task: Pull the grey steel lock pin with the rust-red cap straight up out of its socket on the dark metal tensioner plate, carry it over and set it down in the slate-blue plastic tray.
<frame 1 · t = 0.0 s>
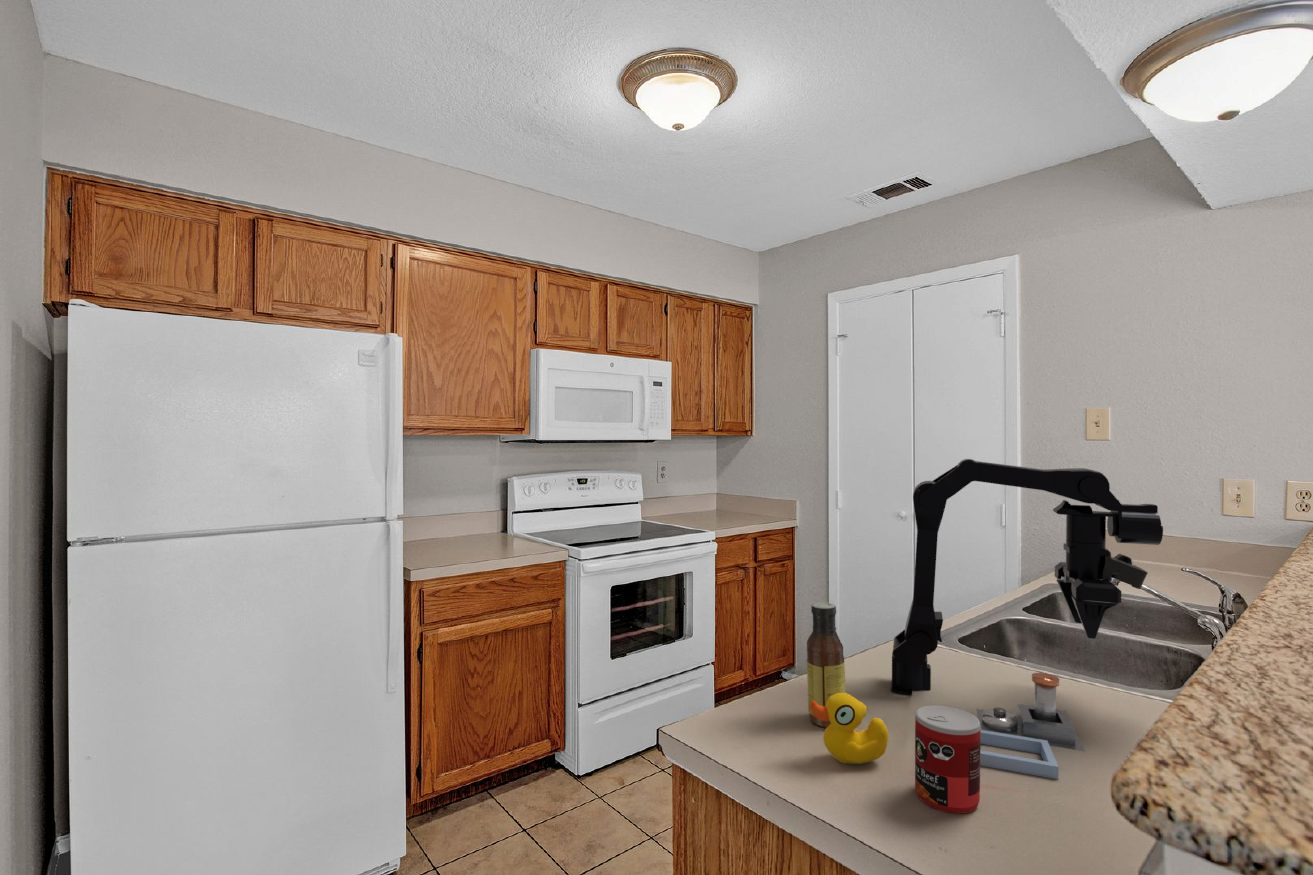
hand: (1084, 630, 111), 15 cm above the counter, tool pointing down, fingers open, 9 cm apart
sauce bottle: (826, 722, 109), on the counter
duckling: (849, 762, 96), on the counter
canned food: (946, 799, 86), on the counter
lock pin: (1044, 731, 103), point 1 cm above the counter, touching tensioner
tensioner: (1027, 733, 104), on the counter
tray: (1008, 762, 95), on the counter
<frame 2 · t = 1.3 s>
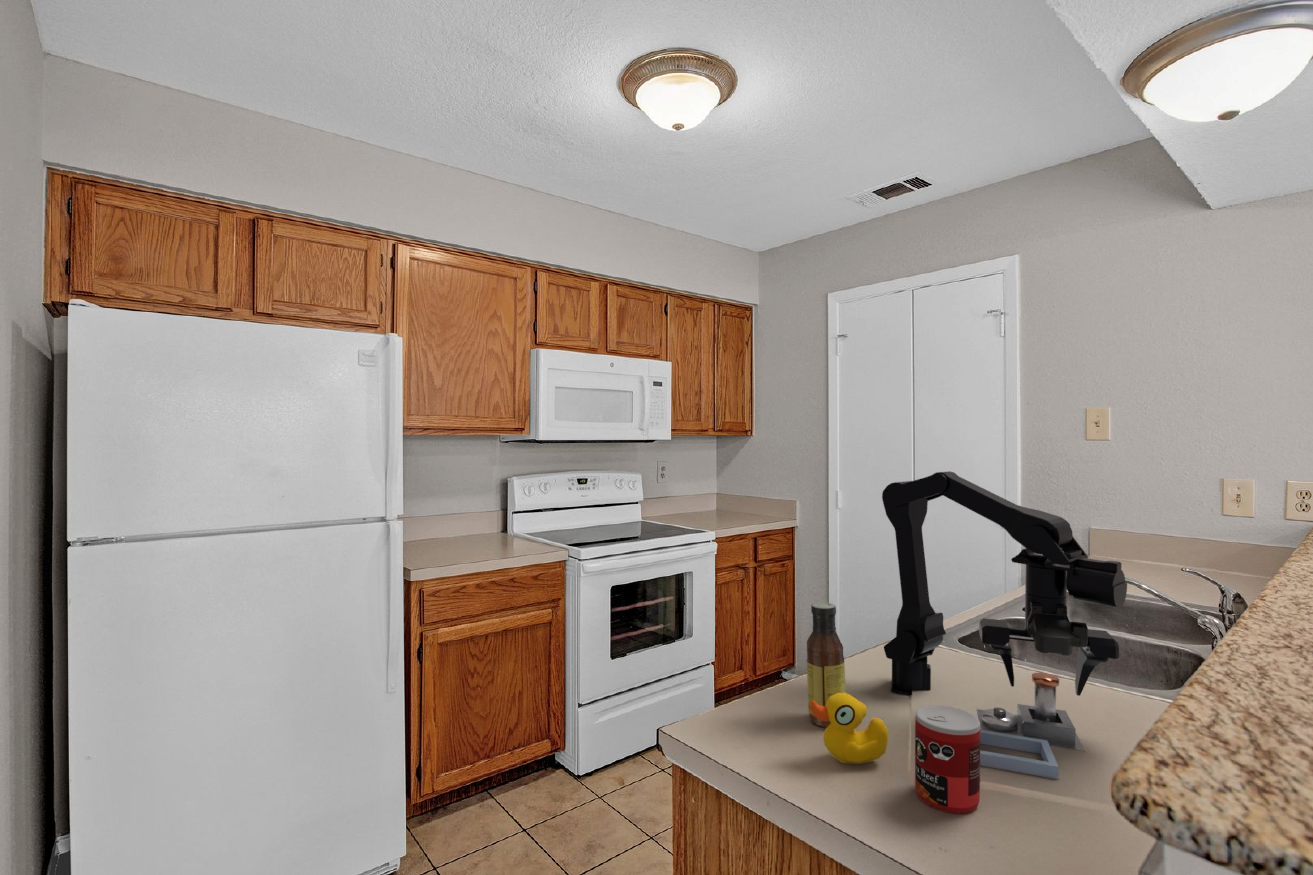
hand: (1044, 690, 103), 7 cm above the counter, tool pointing down, fingers open, 9 cm apart
nothing on the counter moved.
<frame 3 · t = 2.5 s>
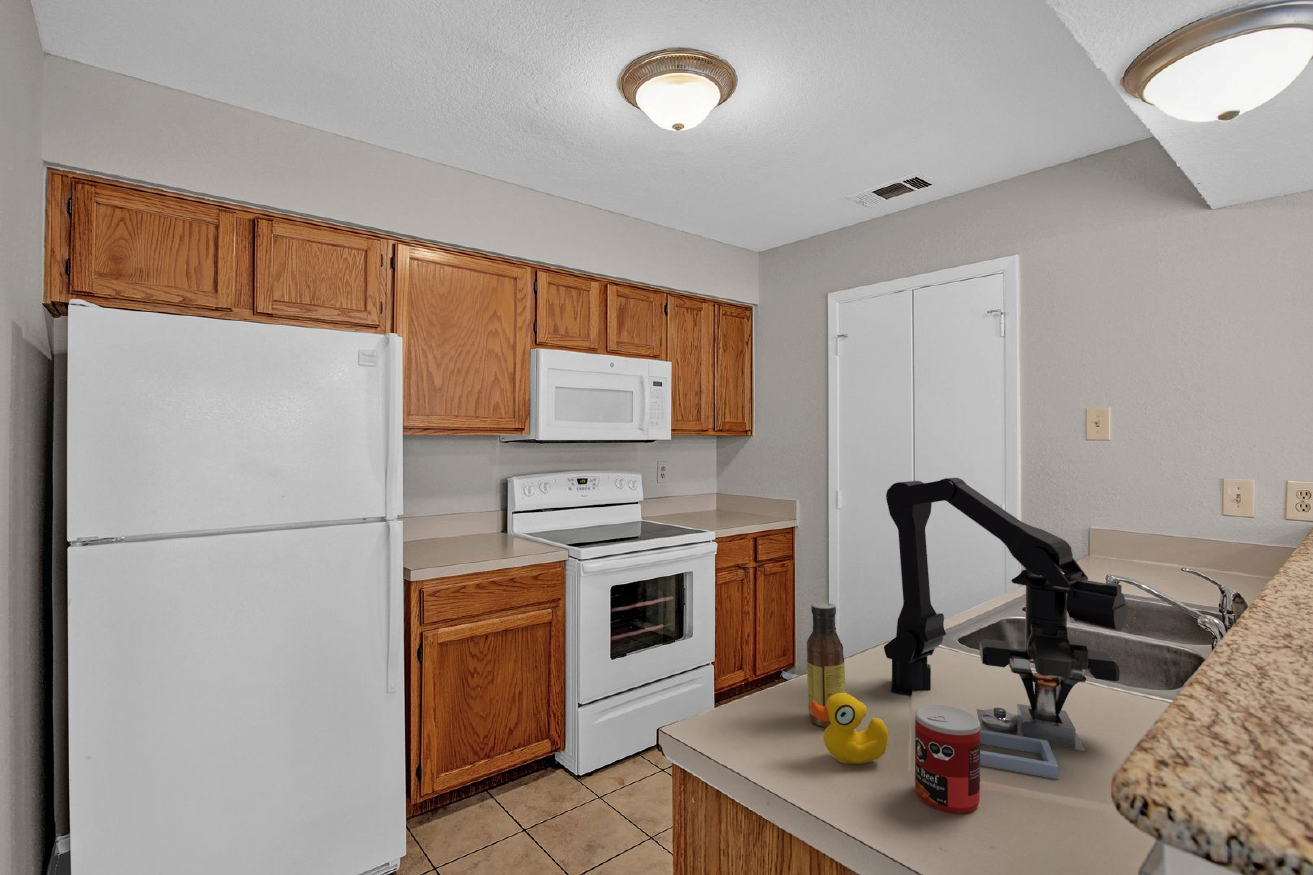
hand: (1045, 711, 103), 4 cm above the counter, tool pointing down, fingers closed on lock pin, 3 cm apart
lock pin: (1044, 731, 103), point 1 cm above the counter, touching gripper, tensioner
everything else where it was.
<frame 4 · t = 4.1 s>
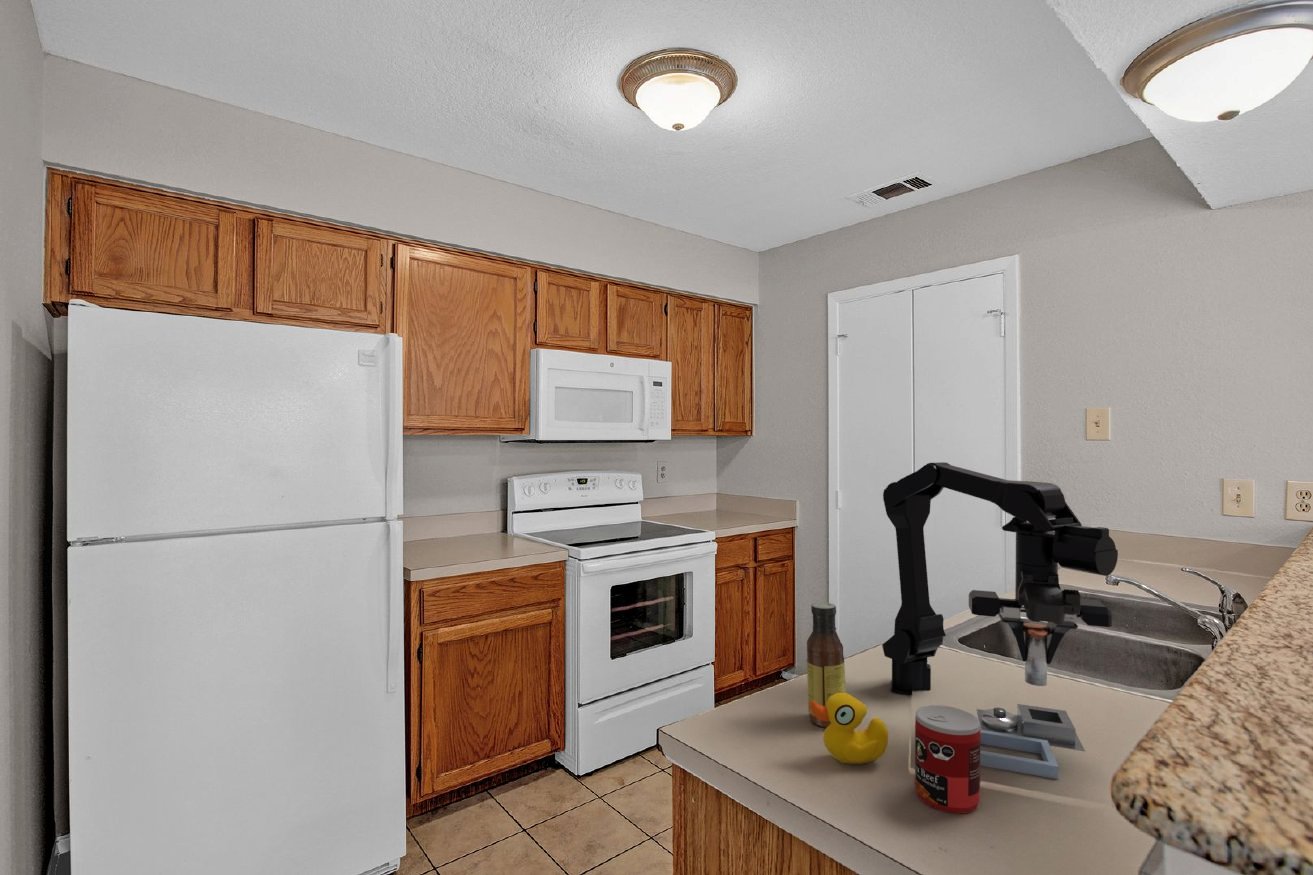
hand: (1035, 661, 100), 13 cm above the counter, tool pointing down, fingers closed on lock pin, 3 cm apart
lock pin: (1035, 682, 100), point 10 cm above the counter, touching gripper
everything else where it was.
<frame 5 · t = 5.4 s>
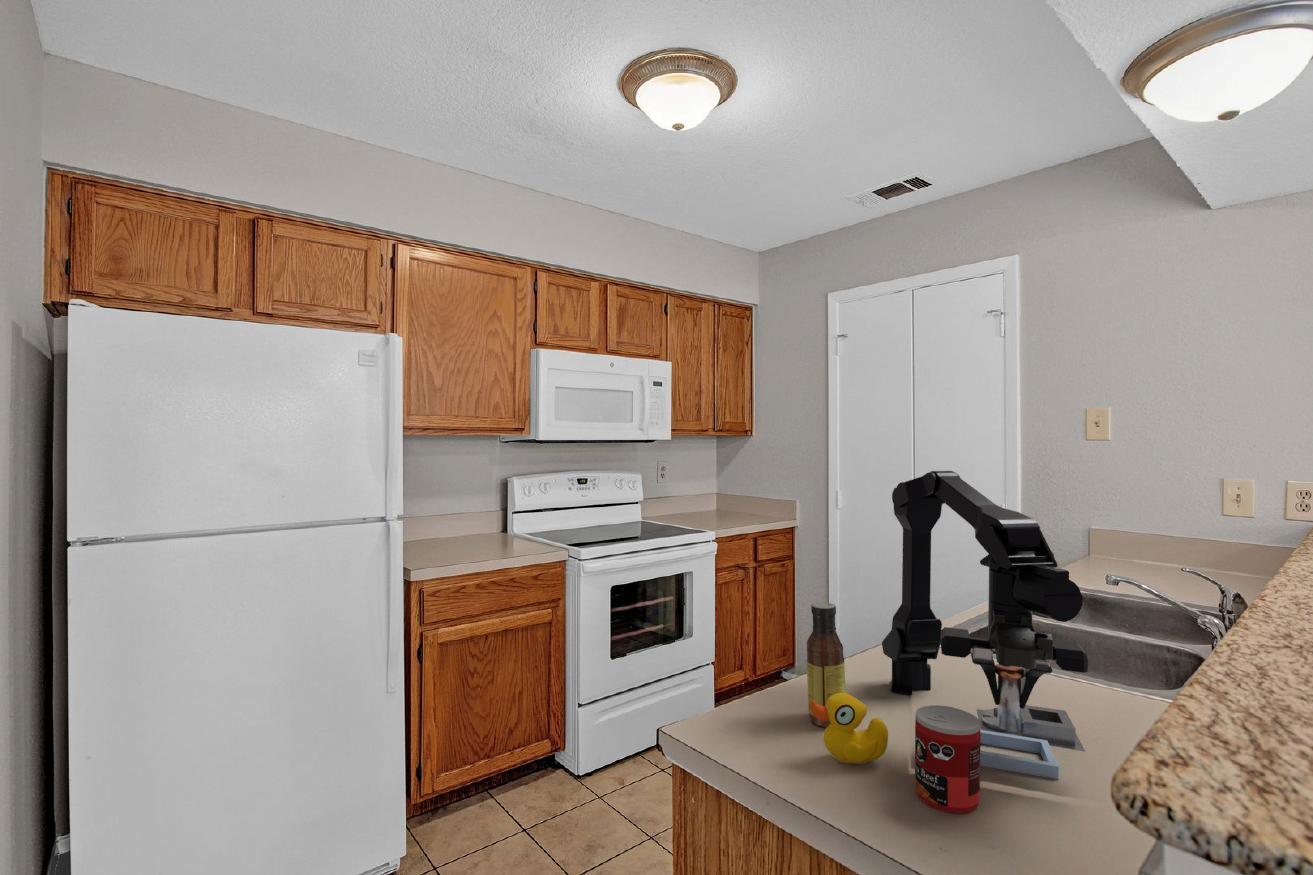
hand: (1009, 705, 95), 8 cm above the counter, tool pointing down, fingers closed on lock pin, 3 cm apart
lock pin: (1008, 727, 95), point 5 cm above the counter, touching gripper
everything else where it was.
when the fingers open (5 cm above the counter, at t = 6.2 s): lock pin drops 1 cm, resting on tray.
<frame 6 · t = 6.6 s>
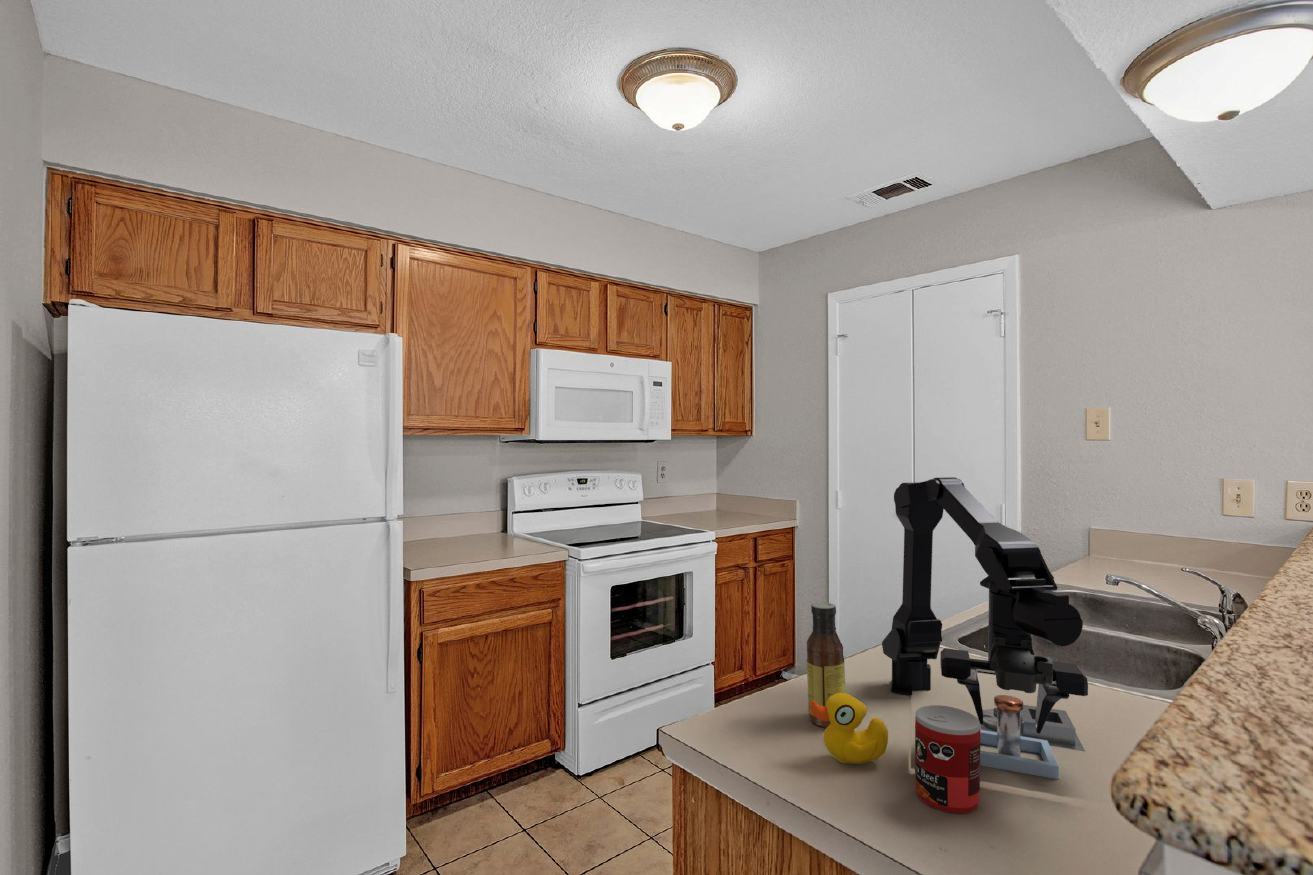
hand: (1009, 727, 95), 5 cm above the counter, tool pointing down, fingers open, 7 cm apart
lock pin: (1008, 758, 95), point 1 cm above the counter, touching tray
everything else where it was.
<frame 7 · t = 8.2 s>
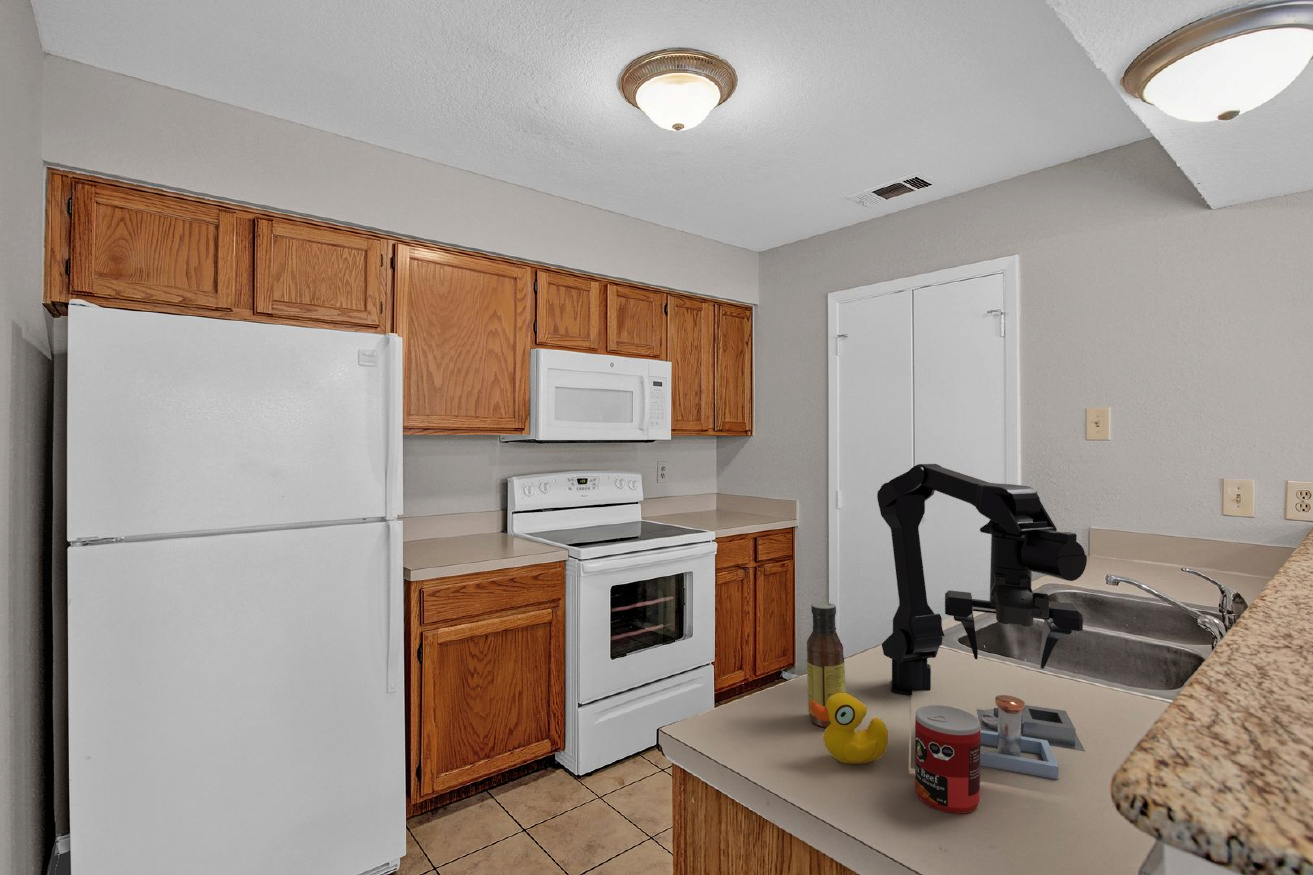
hand: (1008, 663, 101), 13 cm above the counter, tool pointing down, fingers open, 9 cm apart
nothing on the counter moved.
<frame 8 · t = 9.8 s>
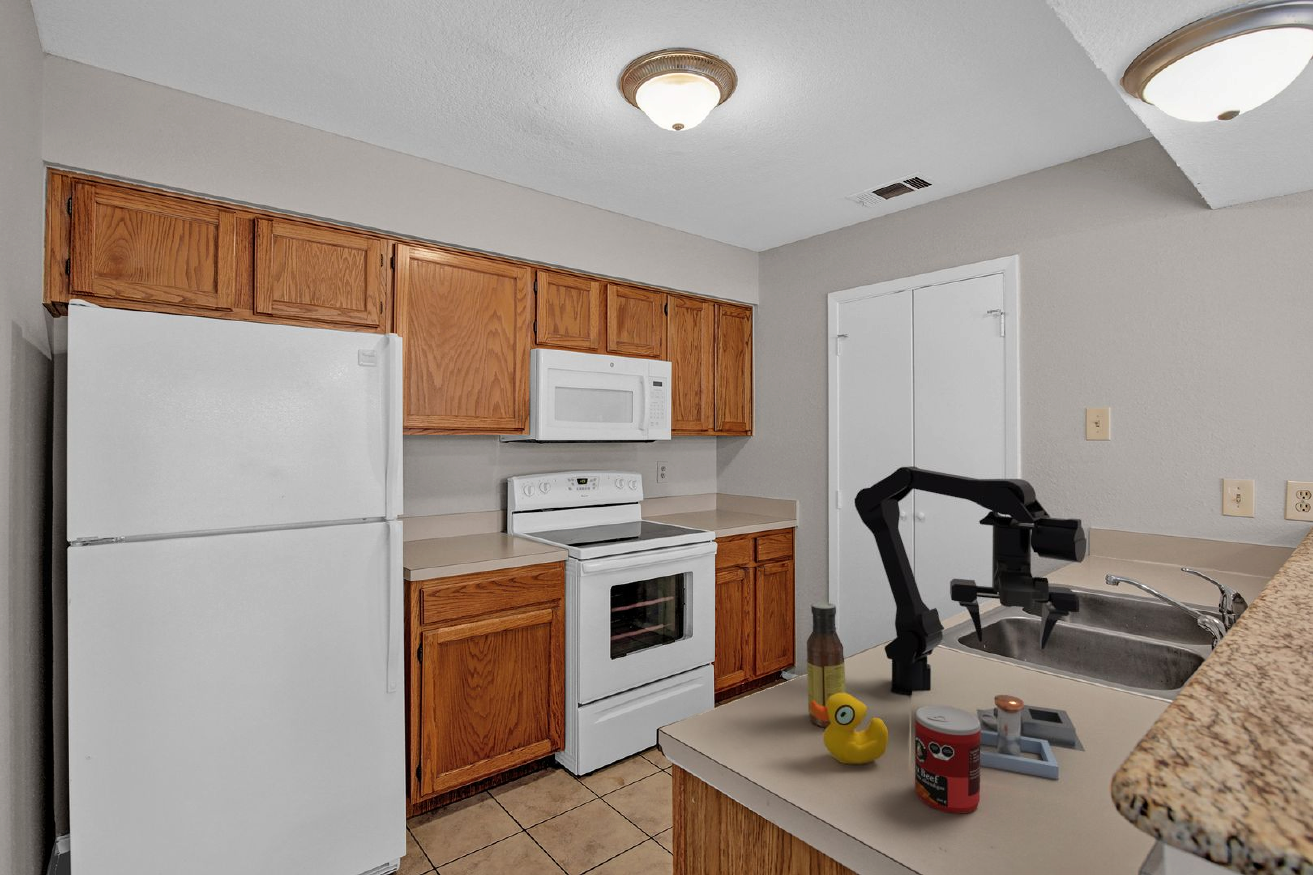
hand: (1010, 644, 109), 13 cm above the counter, tool pointing down, fingers open, 9 cm apart
nothing on the counter moved.
at the end: lock pin inside the target area on the tray (0.0 cm from its centre), point 0.5 cm above the tray's base; the gripper is holding nothing; lock pin touching tray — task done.
